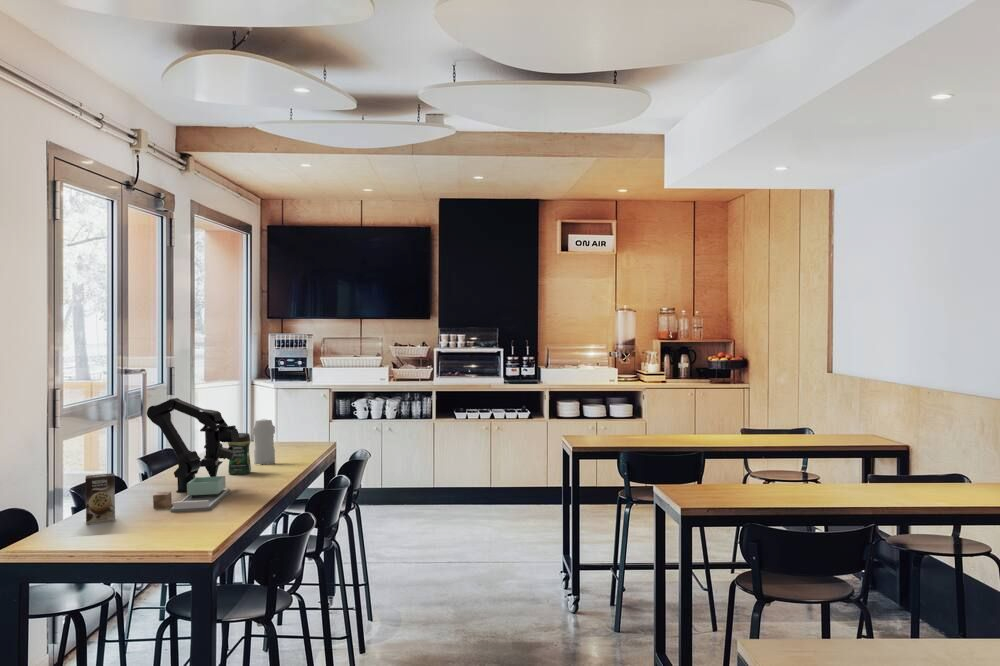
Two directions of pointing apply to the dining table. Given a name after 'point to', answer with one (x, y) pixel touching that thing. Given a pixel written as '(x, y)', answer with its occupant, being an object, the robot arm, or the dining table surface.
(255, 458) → the tall pale column
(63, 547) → the dining table surface
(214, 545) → the dining table surface
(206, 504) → the rail board
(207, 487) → the sage green storage bin
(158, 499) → the block
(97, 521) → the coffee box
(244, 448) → the coffee jar
